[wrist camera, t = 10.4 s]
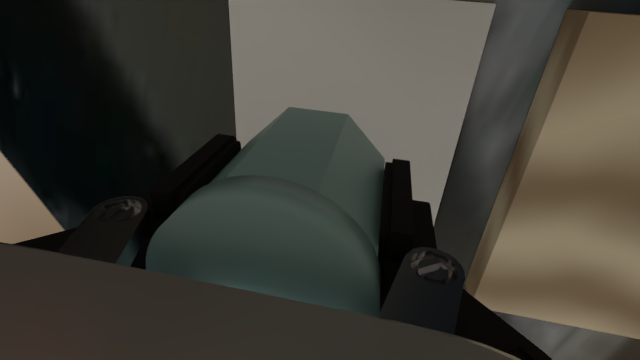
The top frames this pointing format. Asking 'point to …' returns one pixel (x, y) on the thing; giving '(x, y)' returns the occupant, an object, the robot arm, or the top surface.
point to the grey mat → (364, 72)
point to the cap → (286, 217)
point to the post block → (573, 188)
